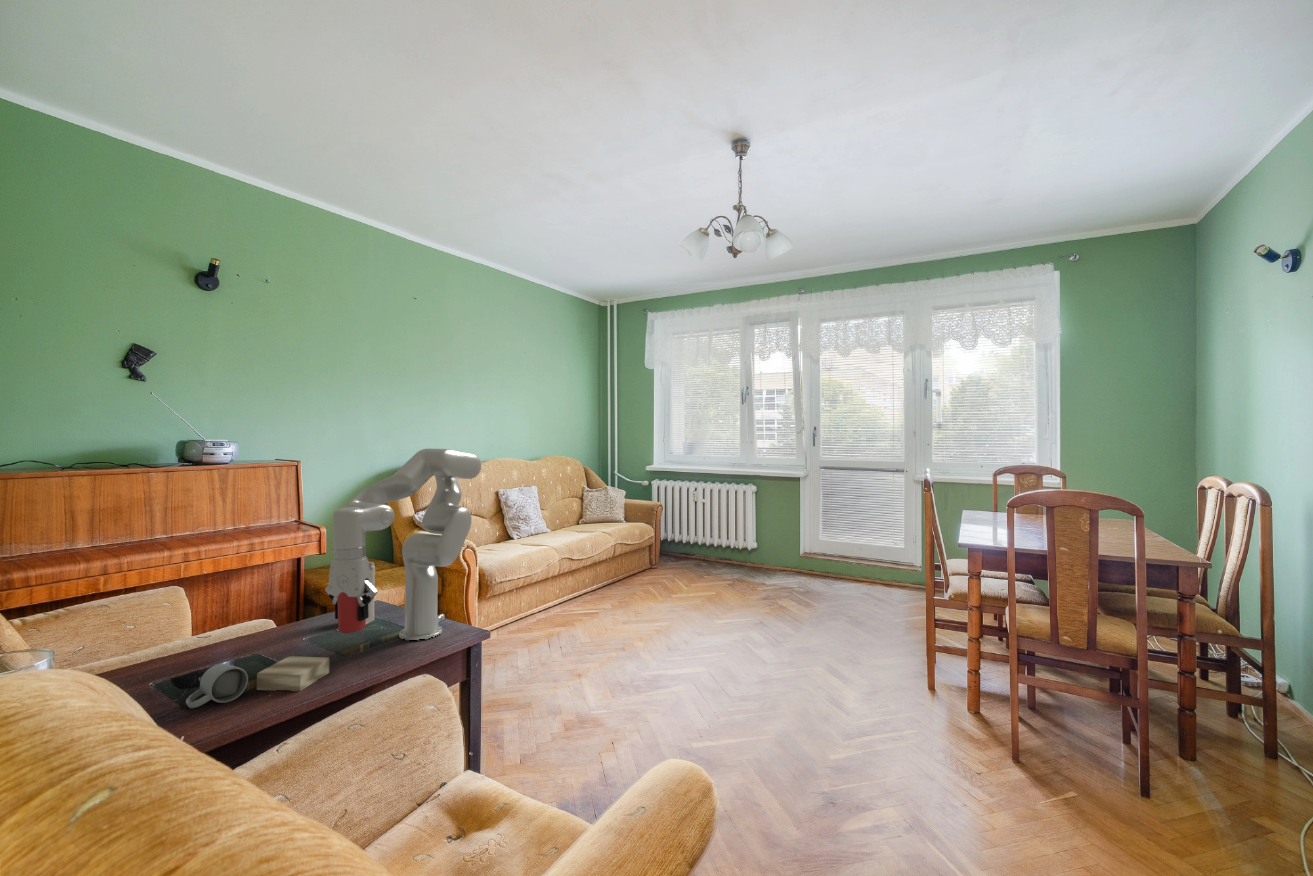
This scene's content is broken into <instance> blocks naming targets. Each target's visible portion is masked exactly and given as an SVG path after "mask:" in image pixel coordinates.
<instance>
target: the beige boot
mask: <svg viewBox="0 0 1313 876" xmlns="http://www.w3.org/2000/svg"><path fill="white" fill-rule="evenodd" d="M368 563H369V568H370V575H371V584H372V585H373V586H374V588H375V589H376V585H375V584H376V566H375V563H374V562H373V561H369V560H368ZM367 594H368V595H369V593H367ZM368 612H369V617H368V618H366V625H367V624H370V623H372V622H374V621H375V597H374V598H373V599H372V600H371V602H370V603H369V604H368ZM336 630H337V629H336ZM337 632H339V630H337Z"/></svg>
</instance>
